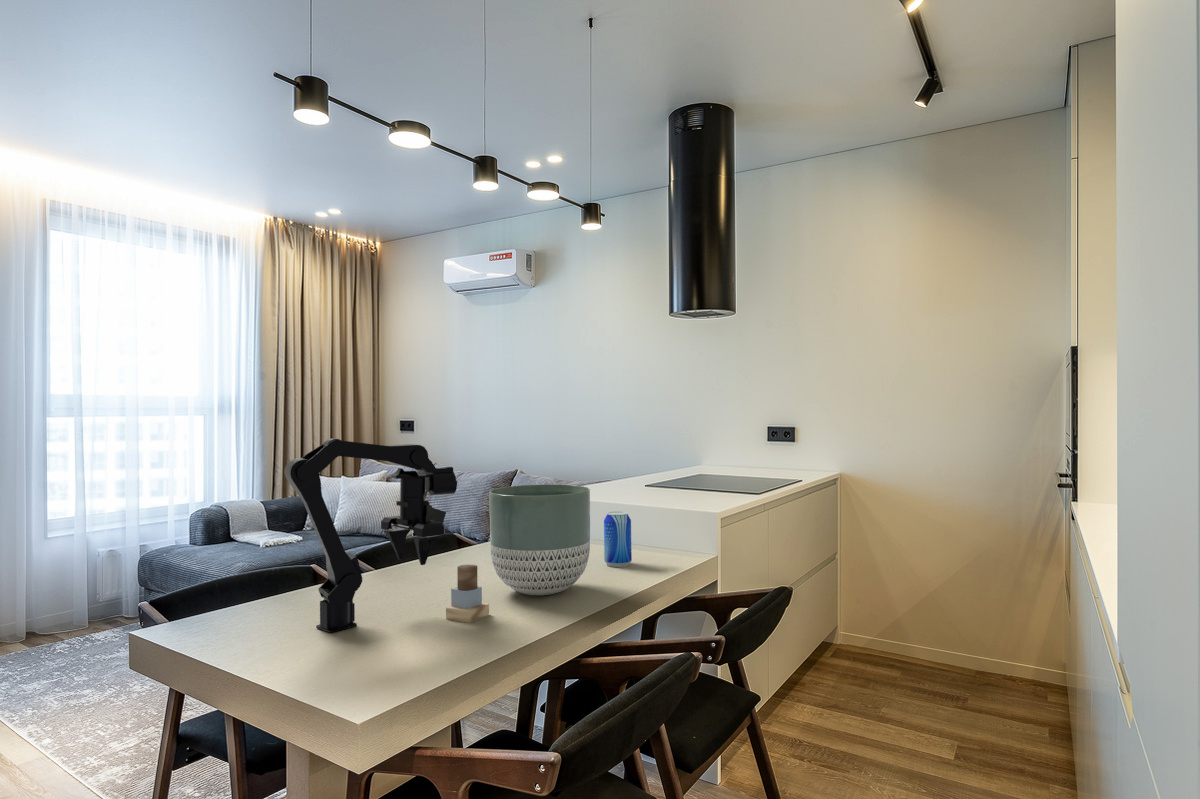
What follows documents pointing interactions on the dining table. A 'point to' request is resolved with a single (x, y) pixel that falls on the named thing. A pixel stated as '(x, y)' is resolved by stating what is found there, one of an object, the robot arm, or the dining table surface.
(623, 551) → the beer can
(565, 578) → the planter
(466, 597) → the top block
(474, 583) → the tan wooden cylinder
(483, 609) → the base block
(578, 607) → the dining table surface
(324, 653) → the dining table surface
